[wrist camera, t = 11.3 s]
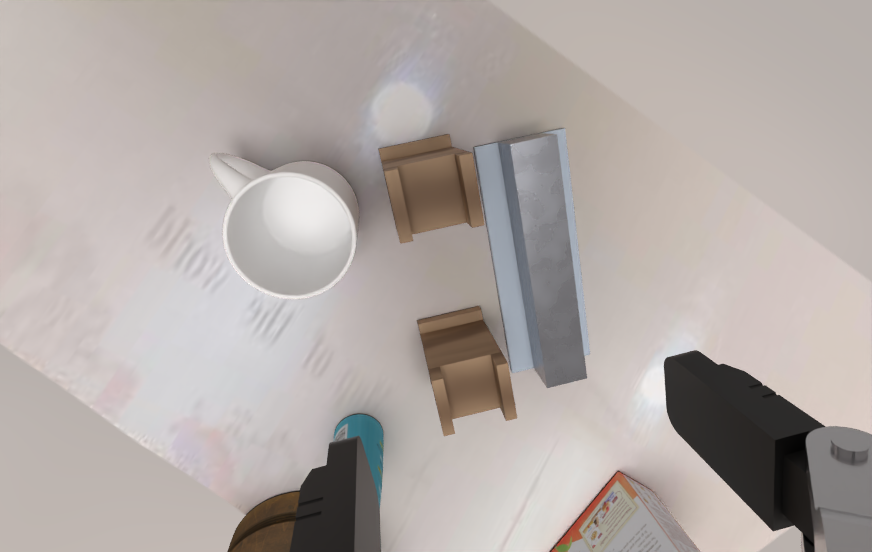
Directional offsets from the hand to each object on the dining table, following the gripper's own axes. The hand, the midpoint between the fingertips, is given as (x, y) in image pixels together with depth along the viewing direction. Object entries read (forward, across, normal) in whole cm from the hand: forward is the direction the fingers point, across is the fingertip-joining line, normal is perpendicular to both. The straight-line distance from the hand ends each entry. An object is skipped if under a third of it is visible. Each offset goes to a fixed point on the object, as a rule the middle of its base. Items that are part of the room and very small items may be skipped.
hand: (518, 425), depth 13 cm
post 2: (+33, -1, +14) cm, 36 cm away
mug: (+34, +10, -3) cm, 35 cm away
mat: (+33, -10, +8) cm, 36 cm away
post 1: (+33, -1, -2) cm, 33 cm away
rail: (+33, -10, +8) cm, 35 cm away
